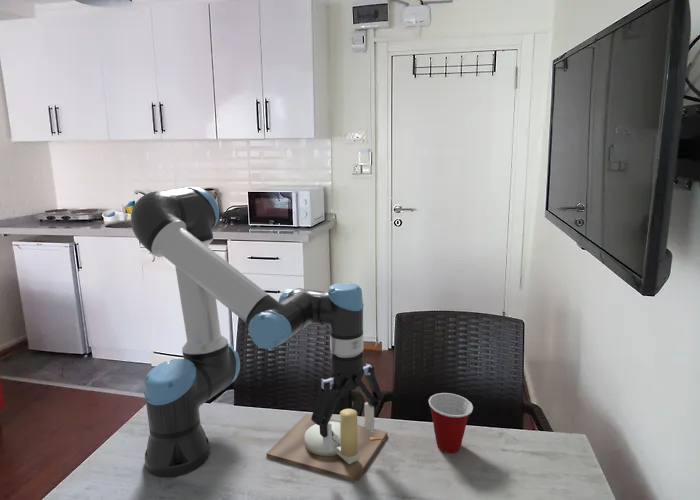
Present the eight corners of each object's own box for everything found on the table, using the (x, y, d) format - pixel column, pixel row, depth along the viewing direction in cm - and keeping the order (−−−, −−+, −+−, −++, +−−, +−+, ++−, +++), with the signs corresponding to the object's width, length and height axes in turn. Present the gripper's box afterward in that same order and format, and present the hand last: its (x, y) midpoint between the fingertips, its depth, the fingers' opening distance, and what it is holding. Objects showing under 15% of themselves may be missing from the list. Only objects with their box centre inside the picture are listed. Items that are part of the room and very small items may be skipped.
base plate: (266, 457, 124) (266, 452, 123) (306, 416, 141) (306, 412, 141) (356, 482, 114) (356, 477, 114) (387, 435, 132) (387, 431, 131)
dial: (296, 439, 129) (294, 395, 126) (335, 423, 135) (333, 382, 133) (333, 473, 115) (331, 425, 113) (374, 453, 122) (374, 408, 119)
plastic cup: (472, 461, 120) (474, 416, 118) (426, 457, 122) (427, 412, 120) (471, 436, 130) (472, 393, 128) (428, 432, 133) (429, 390, 130)
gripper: (310, 371, 105) (314, 465, 109) (397, 343, 118) (397, 428, 123) (292, 359, 111) (297, 449, 115) (377, 334, 124) (378, 415, 129)
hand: (349, 438), depth 119 cm, fingers open, 11 cm apart
